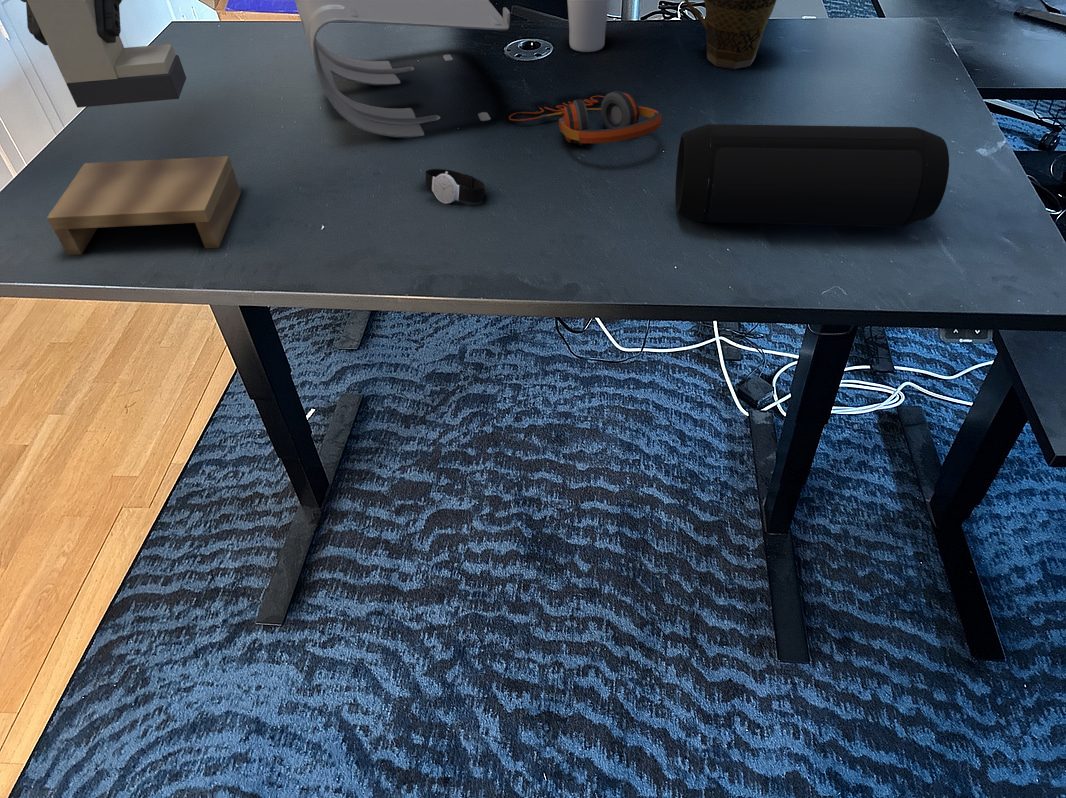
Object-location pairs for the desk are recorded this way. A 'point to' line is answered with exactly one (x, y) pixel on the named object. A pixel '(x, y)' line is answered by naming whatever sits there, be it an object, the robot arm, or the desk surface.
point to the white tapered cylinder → (587, 24)
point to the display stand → (147, 198)
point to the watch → (454, 186)
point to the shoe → (105, 58)
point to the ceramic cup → (734, 30)
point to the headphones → (616, 116)
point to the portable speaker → (810, 174)
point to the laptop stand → (396, 4)
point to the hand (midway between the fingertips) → (75, 40)
